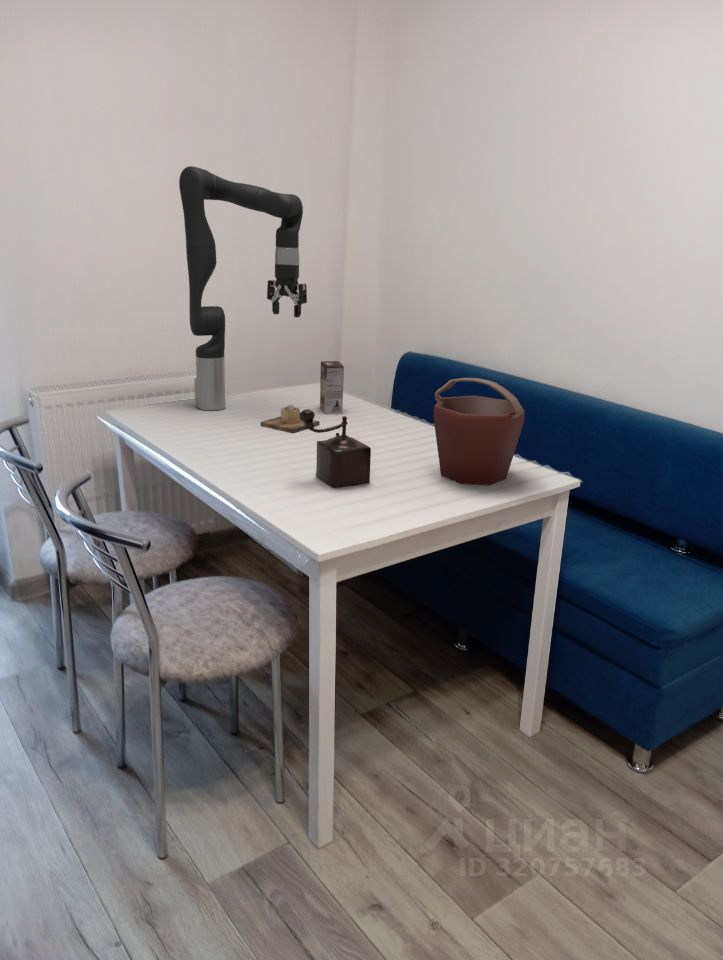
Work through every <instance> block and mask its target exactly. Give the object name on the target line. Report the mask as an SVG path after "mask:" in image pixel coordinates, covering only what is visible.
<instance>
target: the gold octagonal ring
mask: <svg viewBox="0 0 723 960" xmlns="http://www.w3.org/2000/svg"><path fill="white" fill-rule="evenodd" d="M300 413H301V410H300V407H296V406H294V410H287V406H284V407H281V408H280V416H281V422H282V423H286V424H296V423H299V422H300V417H299V414H300Z"/></svg>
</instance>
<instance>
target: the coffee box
mask: <svg viewBox="0 0 723 960" xmlns="http://www.w3.org/2000/svg"><path fill="white" fill-rule="evenodd" d="M344 375H345V366H344V365H343V364H342V363H341V362H340V361H339V360H334V361H331V360H329V361H328V360H327V361H325V360H324V361H322V360H321V361H320V389H319V391H320V393H319V408H320V410H321V411H322V412H323V413H324V414H325V415H331V414H332V415H334V414H335V415H337V414H342V415H343V407H344V404H343V403H344V402H343V401H344V379H345V378H344Z"/></svg>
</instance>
